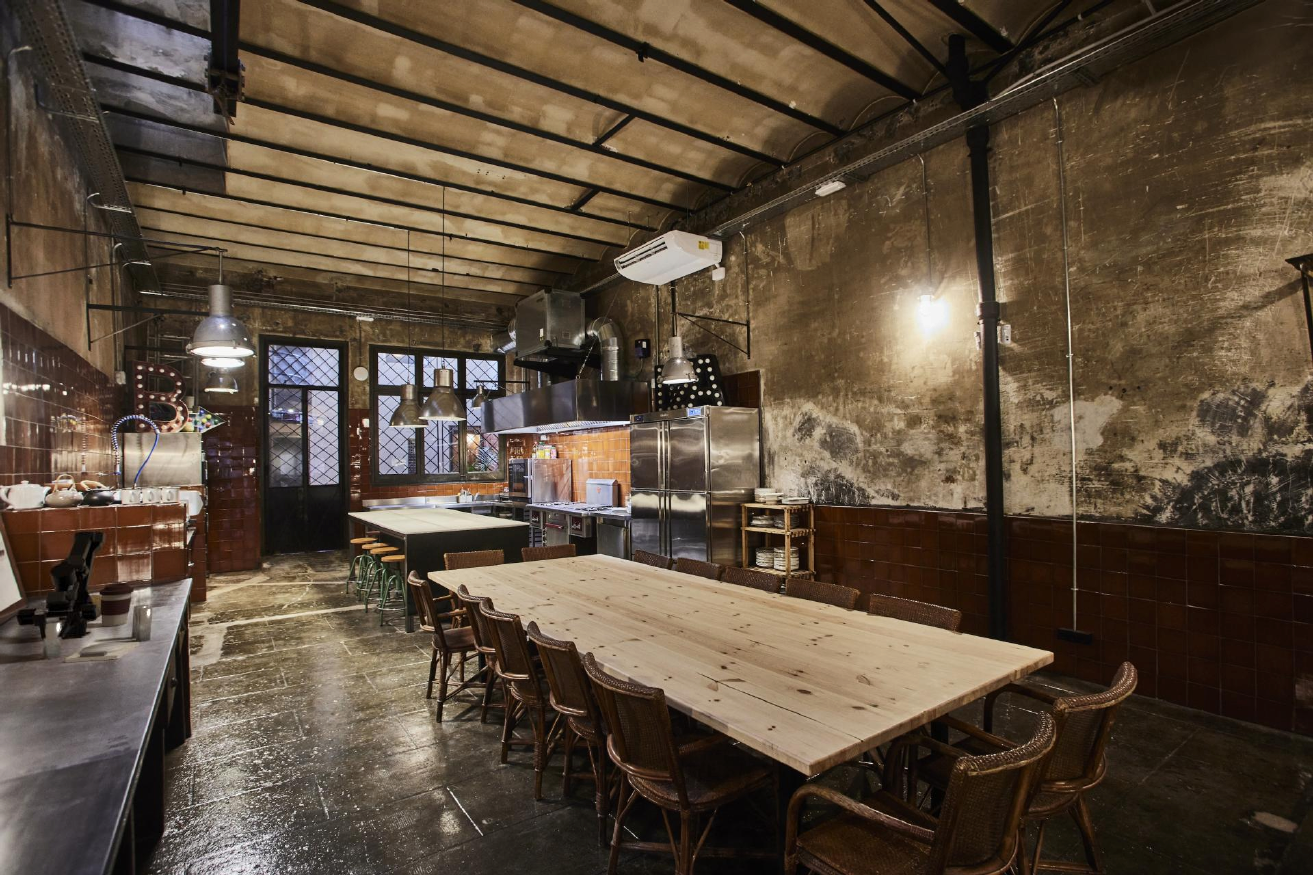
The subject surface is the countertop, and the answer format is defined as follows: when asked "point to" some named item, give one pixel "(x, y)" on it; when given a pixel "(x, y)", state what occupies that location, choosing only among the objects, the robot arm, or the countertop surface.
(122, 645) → the scale
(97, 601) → the natural sponge
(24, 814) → the countertop surface
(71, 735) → the countertop surface
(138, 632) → the spacer
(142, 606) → the spacer
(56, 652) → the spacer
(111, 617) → the coffee cup
